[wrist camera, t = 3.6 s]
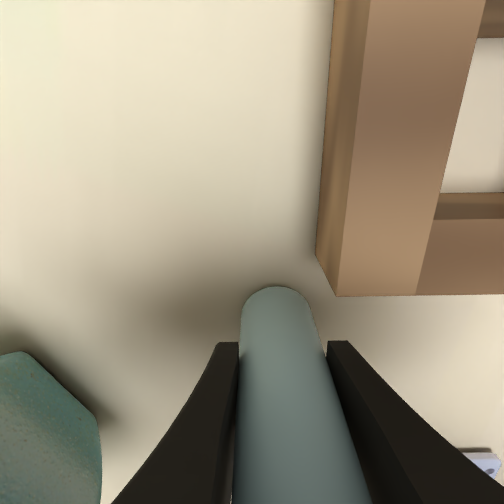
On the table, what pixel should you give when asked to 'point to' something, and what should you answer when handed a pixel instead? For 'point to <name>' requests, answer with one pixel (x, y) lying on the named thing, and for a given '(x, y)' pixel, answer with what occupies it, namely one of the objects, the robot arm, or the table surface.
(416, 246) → the open cardboard frame
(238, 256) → the table surface
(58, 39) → the table surface
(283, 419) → the blue-gray dowel
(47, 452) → the flower pot
